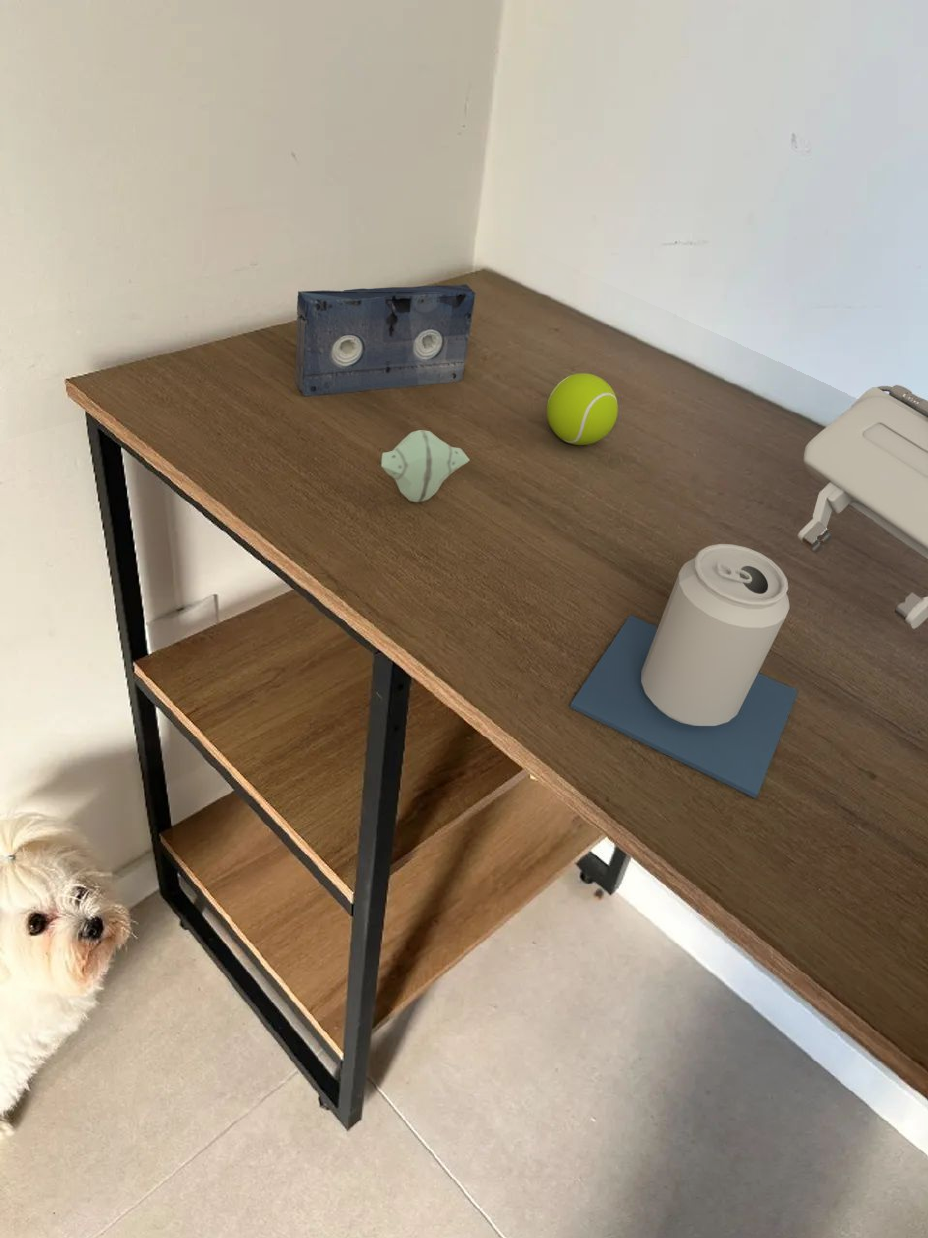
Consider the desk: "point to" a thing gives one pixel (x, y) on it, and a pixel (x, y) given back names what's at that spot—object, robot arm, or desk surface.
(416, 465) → the striped green spinning top
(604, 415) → the tennis ball
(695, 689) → the can
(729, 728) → the mat
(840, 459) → the robot arm
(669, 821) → the desk surface
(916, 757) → the desk surface
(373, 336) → the vhs cassette tape
